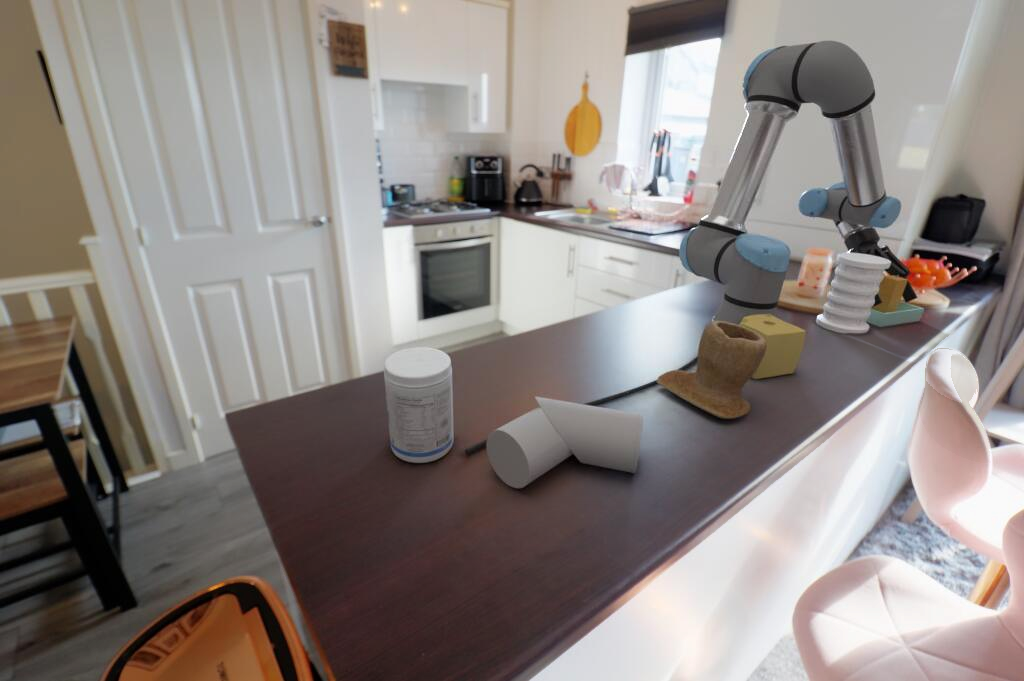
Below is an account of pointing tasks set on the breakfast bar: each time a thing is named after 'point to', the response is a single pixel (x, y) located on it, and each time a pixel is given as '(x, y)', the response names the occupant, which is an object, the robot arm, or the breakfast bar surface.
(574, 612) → the breakfast bar surface
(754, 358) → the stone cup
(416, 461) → the supplement tub
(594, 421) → the l-shaped cylinder
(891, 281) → the mustard block
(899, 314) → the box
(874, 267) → the decorative container
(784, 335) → the cheese
